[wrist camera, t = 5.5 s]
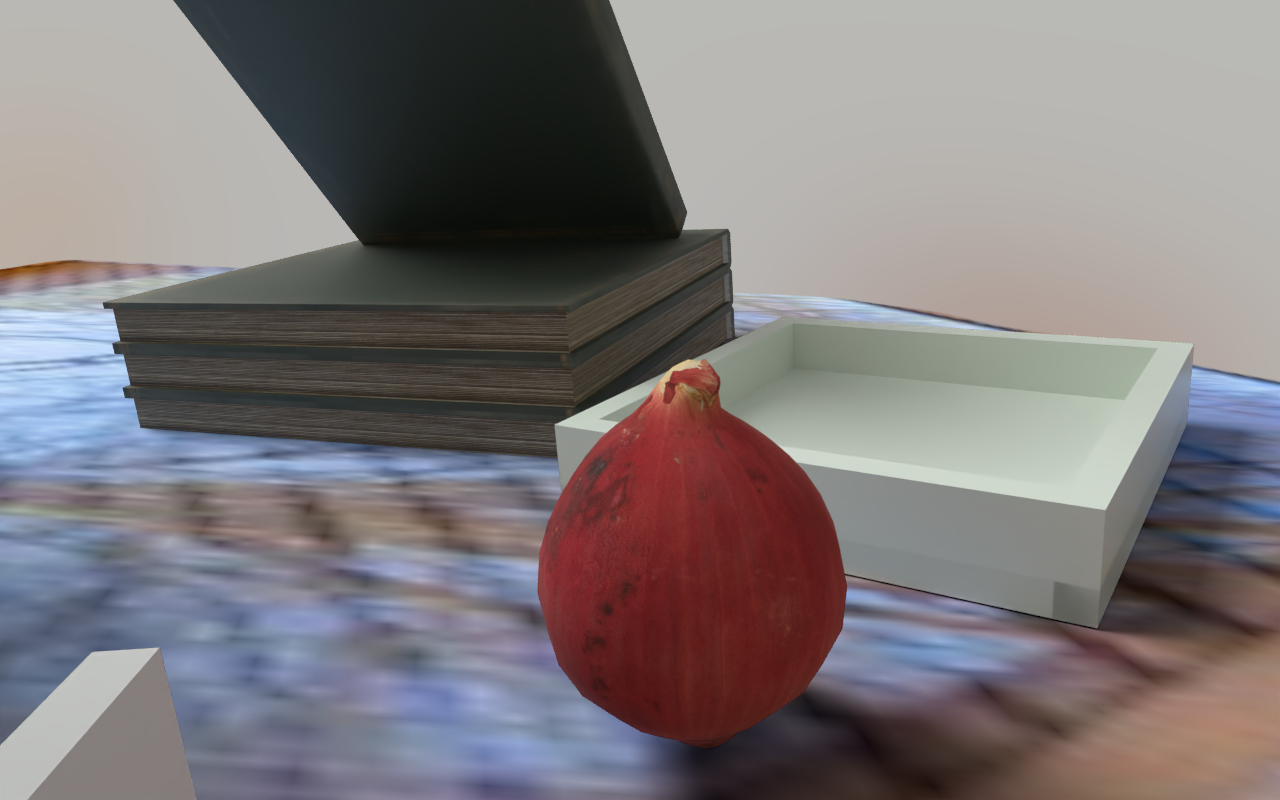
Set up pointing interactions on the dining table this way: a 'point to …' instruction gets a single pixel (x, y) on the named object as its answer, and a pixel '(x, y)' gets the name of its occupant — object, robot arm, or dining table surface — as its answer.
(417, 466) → the dining table surface
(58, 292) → the dining table surface
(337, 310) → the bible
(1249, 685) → the dining table surface
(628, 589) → the onion
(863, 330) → the tray
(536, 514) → the dining table surface
